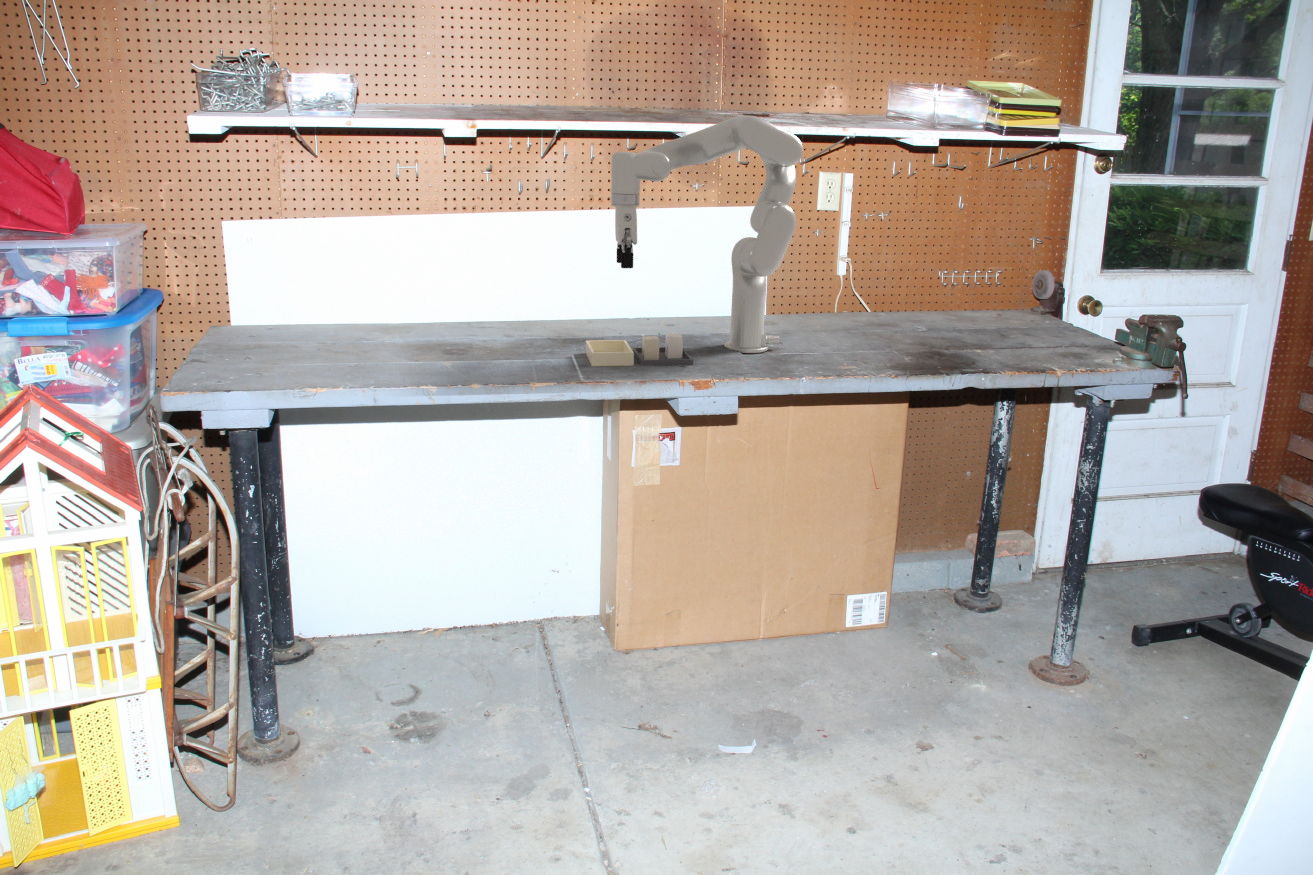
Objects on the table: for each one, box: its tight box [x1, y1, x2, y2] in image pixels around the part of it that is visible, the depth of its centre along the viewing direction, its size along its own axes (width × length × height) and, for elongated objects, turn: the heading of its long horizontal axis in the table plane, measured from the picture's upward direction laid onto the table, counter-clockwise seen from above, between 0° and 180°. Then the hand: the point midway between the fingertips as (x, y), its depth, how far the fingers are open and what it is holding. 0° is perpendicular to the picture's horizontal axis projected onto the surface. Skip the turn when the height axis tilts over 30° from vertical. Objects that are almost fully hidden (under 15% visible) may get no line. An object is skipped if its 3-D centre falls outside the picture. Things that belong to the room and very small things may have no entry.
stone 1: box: [641, 335, 660, 360], centre depth 263 cm, size 4×4×6 cm
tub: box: [585, 339, 635, 367], centre depth 263 cm, size 11×15×4 cm
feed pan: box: [631, 346, 694, 366], centre depth 266 cm, size 14×15×2 cm
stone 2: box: [664, 333, 684, 358], centre depth 267 cm, size 4×4×6 cm
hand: (624, 265), depth 265 cm, fingers open, 9 cm apart
